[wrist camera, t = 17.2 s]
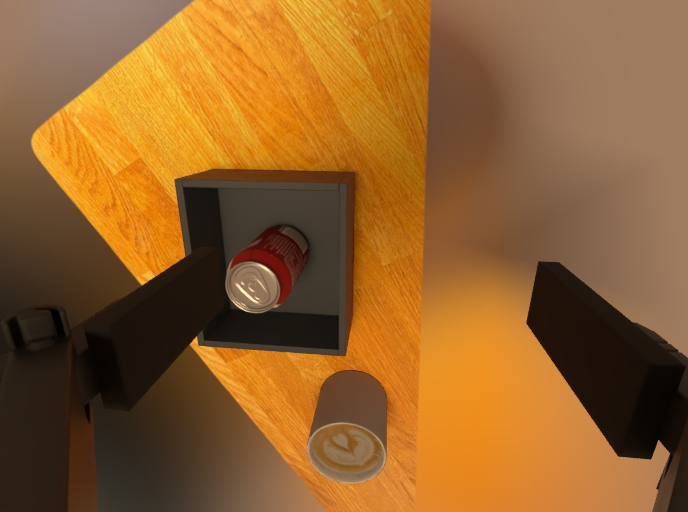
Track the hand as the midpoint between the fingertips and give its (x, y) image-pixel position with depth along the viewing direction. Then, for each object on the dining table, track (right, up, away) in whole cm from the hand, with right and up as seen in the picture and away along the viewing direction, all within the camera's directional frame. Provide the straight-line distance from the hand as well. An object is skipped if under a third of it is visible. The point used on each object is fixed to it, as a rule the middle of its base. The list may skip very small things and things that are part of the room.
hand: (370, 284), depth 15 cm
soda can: (-9, +2, +32) cm, 33 cm away
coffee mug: (0, -22, +41) cm, 46 cm away
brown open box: (-9, +2, +33) cm, 34 cm away
